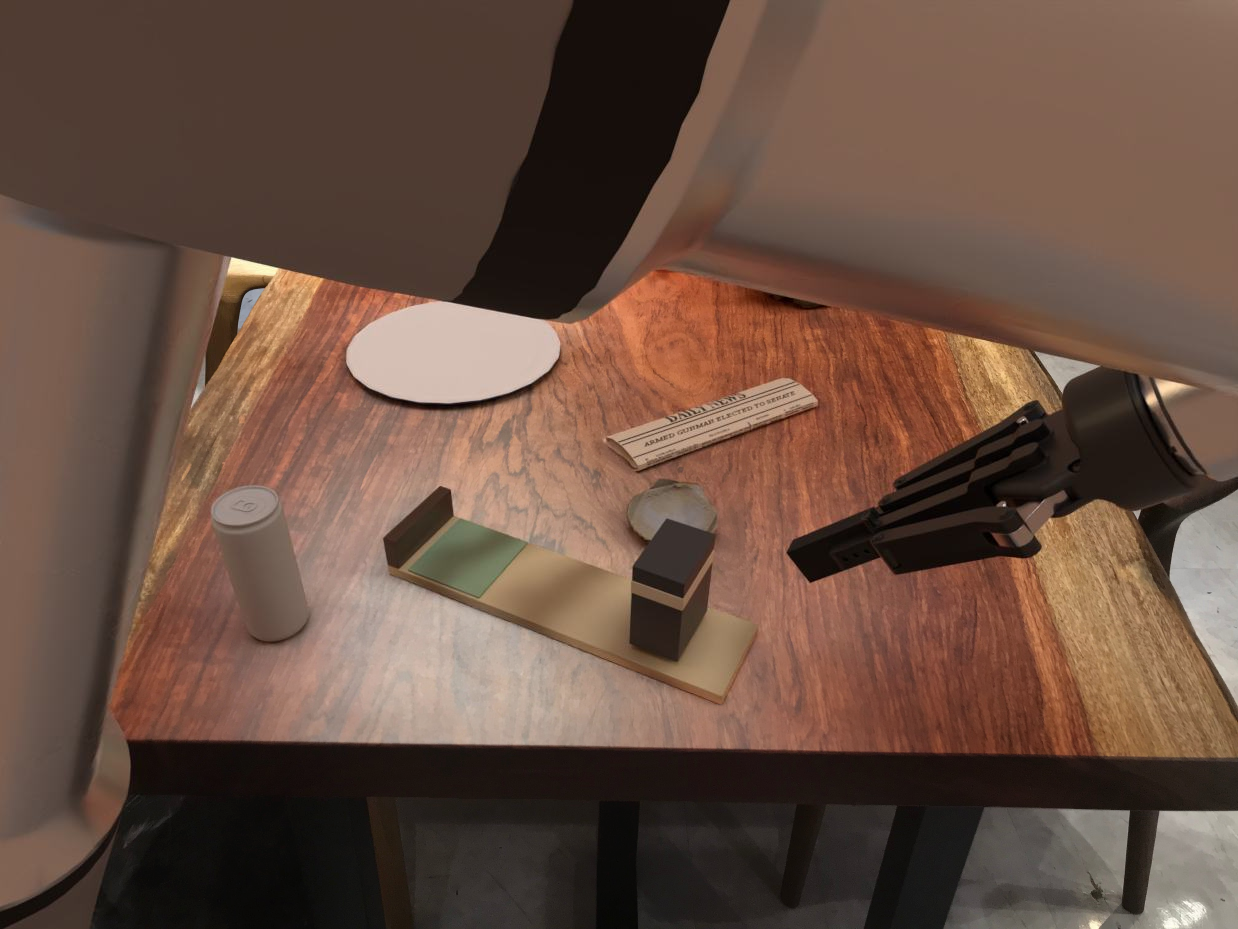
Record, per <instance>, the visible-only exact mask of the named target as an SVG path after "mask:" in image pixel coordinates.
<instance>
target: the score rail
mask: <svg viewBox="0 0 1238 929" xmlns="http://www.w3.org/2000/svg"><path fill="white" fill-rule="evenodd" d="M453 504H454V503H453V495H452V489H451V488H448V487H445V486H442V485H439V486H438V487H437V488H436V489H434V491H432V492H431V493H430V494H429V495H428V496H427V497H426V498H425V499H423V501H422V502H420V503H419V504H418V505H417V506H416V507H415V508H414V509H413V510H412V511H411V512H409V514H407V515H406V516H405V517H404V518H403V519H402V520H401V521H399V523H398V524H397V525H395V526H394V527H393V528H392V529H391V530H390V531H389V532H388V533H386V534H385V535H384V536H383V537H382V542H383V547H384V553H385V558H386V564H387V570H388V573H389V574H390V575H392V576H394V577H397V578H399V579H402V580H404V581H406V582H410V583H412V584H415V585H417V586H420V587H422V588H425V589H427V590H430V591H433V592H435V593H437V594H439V595H442V596H445V597H447V598H450V599H453V600H456V601H458V602H460V603H463V604H465V605H468V606H470V607H473V608H475V609H478V610H480V611H483V612H485V613H488V614H490V615H493V616H496V617H498V618H501V619H503V620H505V621H508V622H511V623H512V624H513V623H514V624H515V625H518V626H520V627H523V628H526V629H528V630H531V631H533V632H536V633H539V634H541V635H543V636H545V637H548V638H551V639H554V640H556V641H559V642H562V643H564V644H566V645H568V646H572V647H574V648H576V649H578V650H582V651H584V652H586V653H589V654H592V655H593V656H597V657H599V658H602V659H605V660H606V661H609V662H612V663H615V664H617V665H619V666H622V667H625V668H627V669H630V670H632V671H635V672H638V673H640V674H643V675H645V676H647V677H650V678H652V679H654V680H657V681H659V682H662V683H665V684H667V685H670V686H672V687H675V688H677V689H680V690H683V691H686V692H687V693H691V694H692V695H695V696H698V697H701V698H704V699H706V700H708V701H710V702H713V703H716V704H718V705H722V704H723V702H724V700H725V699H726V696H727V694H728V692H729V690H730V688H731V686H732V684H733V682H734V680H735V678H736V677H737V674H738V672H739V670H740V669H741V666H742V665H743V662H744V660H745V658H746V657H747V654H748V652H749V650H750V648H751V646H752V644H753V642H754V640H755V638H756V636H757V634H758V629H759V624H758V623H755V622H752V621H749V620H747V619H744V618H741V617H738V616H736V615H732V614H731V613H727V612H724V611H722V610H718V609H716V608H713V607H711V606H708V607H707V612H706V613H705V615H704V617H703V619H702V620H701V622H700V624H699V626H698V627H697V629H696V631H695V633H694V634H693V636H692V638H691V639H690V641H689V643H688V645H687V646H686V648H685V650H684V652H683V653H682V655H681V657H680V658H679V660H678V662H676V661H673V660H670V659H668V658H665V657H663V656H660V655H657V654H655V653H652V652H650V651H647V650H644V649H642V648H639V647H637V646H634V645H631V644H629V638H630V615H631V580H632V578H629V577H626V576H624V575H620V574H618V573H615V572H612V571H609V570H607V569H604V568H601V567H599V566H595V565H593V564H591V563H590V564H589V563H588V562H584V561H581V560H579V559H575V558H573V557H570V556H568V555H564V554H562V553H559V552H556V551H553V550H550V549H548V548H545V547H542V546H539V545H536V544H534V543H531V542H528V541H527V540H523V539H520V538H519V537H514V536H512V535H510V534H507V533H503V532H501V531H498V530H496V529H495V530H494V529H492V528H490V527H487V526H484V525H482V524H478V523H476V522H473V521H470V520H468V519H464V518H461V517H458V516H455V514H454V505H453Z"/></svg>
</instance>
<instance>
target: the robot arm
mask: <svg viewBox="0 0 1238 929" xmlns="http://www.w3.org/2000/svg"><path fill="white" fill-rule="evenodd" d="M232 258H233V259H237V260H240V261H245V262H250V263H253V264H259V265H263V266H267V267H272V268H276V269H281V270H284V271H288V272H292V273H293V272H294V273H297V274H302V275H307V276H311V277H315V278H318V279H319V278H320V279H324V280H329V281H332V282H337V283H342V284H346V285H349V286H350V285H351V286H353V287H359V288H365V289H371V290H376V291H381V292H388V293H394V294H400V295H404V296H405V295H406V296H410V297H417V298H422V299H428V300H433V301H443V302H450V303H455V304H460V305H465V306H471V307H476V308H481V309H486V310H492V311H497V312H502V313H507V314H513V315H518V316H523V317H528V318H534V319H540V320H545V321H546V322H547V321H548V322H554V323H560V324H566V325H567V324H568V325H571V324H574V323H578V322H582V321H584V320H585V321H586V320H588V319H589V318H590V317H592V316H593V315H595V314H596V313H597V312H599V311H601V309H603V308H604V307H605V306H607V305H608V304H610V303H611V302H612V301H614V300H615V299H617V298H618V297H619V296H620V295H622V294H623V293H625V292H626V291H628V290H629V289H630V288H632V287H633V286H635V285H636V284H638V283H639V282H640V281H641V280H643V279H645V278H646V277H647V276H648V275H650V274H651V273H653V272H654V271H660V270H664V271H669V272H674V273H677V274H682V275H686V276H691V277H696V278H701V279H706V280H709V281H714V282H719V283H723V284H728V285H732V286H737V287H741V288H744V289H745V288H747V289H751V290H754V291H759V292H763V293H765V292H768V293H772V294H777V295H781V296H785V298H786V297H787V298H791V299H792V298H795V299H800V300H804V301H809V302H813V303H818V304H819V305H822V306H827V307H832V308H835V309H836V308H837V309H839V310H840V309H841V310H844V311H850V312H853V313H854V312H855V313H860V314H863V315H868V316H873V317H877V318H881V319H885V320H890V321H895V322H900V323H904V324H909V325H913V326H917V327H923V328H926V329H930V330H931V329H932V330H934V331H935V330H937V331H941V332H945V333H949V334H954V335H959V336H962V337H966V338H967V337H968V338H972V339H977V340H981V341H986V342H991V343H995V344H999V345H1003V346H1008V347H1013V348H1017V349H1022V350H1026V351H1031V352H1036V353H1039V354H1044V355H1048V356H1049V355H1050V356H1054V357H1057V358H1061V359H1067V360H1072V361H1075V362H1081V363H1084V364H1085V363H1086V364H1088V365H1089V364H1090V365H1094V366H1098V367H1095V368H1092V369H1091V370H1088V371H1087V372H1085V373H1082V374H1080V375H1077V376H1075V377H1073V378H1071V379H1070V380H1069V381H1068V382H1067V383H1066V384H1065V386H1064V387H1063V390H1062V394H1061V409H1059V410H1056V411H1054V412H1052V413H1048V412H1047V411H1046V410H1045V407H1044V406H1043V405H1042V404H1041V402H1040V400H1039V399H1034V400H1031V401H1028V402H1026V403H1025V404H1024V405H1022V406H1020V407H1019V408H1018V409H1017V410H1015V411H1014V412H1013V413H1011V414H1009V415H1008V416H1007V417H1005V418H1004V419H1003V420H1001V421H1000V422H998V423H996V424H994V425H992V426H990V427H988V428H987V429H985V430H983V431H981V432H980V433H978V434H976V435H974V436H972V437H970V438H968V439H967V440H965V441H963V442H960V443H959V444H958V445H956V446H954V447H952V448H951V449H948V450H946V451H945V452H943V453H941V454H939V455H937V456H936V457H934V458H932V459H930V460H929V461H926V462H924V463H923V464H921V465H919V466H917V467H916V468H913V469H911V470H909V471H908V472H906V473H904V474H903V475H901V476H899V477H897V478H896V479H895V480H894V481H893V483H892V486H893V488H894V490H895V491H893V492H891V493H887V494H885V495H883V497H882V498H880V499H879V501H878V502H877V506H872V507H869V508H867V509H864V510H861V511H859V512H857V513H854V514H851V515H850V516H847V517H844V518H842V519H840V520H838V521H835V522H833V523H830V524H828V525H825V526H823V527H820V528H818V529H816V530H813V531H811V532H809V533H808V532H807V533H806V534H804V535H800V536H799V537H796V538H794V539H792V540H791V543H790V544H789V546H788V548H787V550H786V552H785V554H786V555H787V556H788V557H789V559H790V560H791V561H792V562H793V564H794V565H795V566H796V568H797V570H799V571H800V573H801V574H802V575H803V577H804V578H805V579H806V580H807V582H808V583H809V584H812V583H815V582H818V581H820V580H823V579H825V578H828V577H831V576H833V575H834V576H835V575H836V574H839V573H842V572H844V571H847V570H850V569H853V568H855V567H858V566H862V565H864V564H867V563H870V562H872V561H875V560H877V559H880V558H881V560H882V561H883V562H884V564H885V565H886V566H887V568H888V569H889V570H890V572H891V573H892V574H893V575H895V576H897V575H899V576H900V575H904V574H910V573H915V572H921V571H922V572H923V571H927V570H932V569H937V568H942V567H948V566H949V567H950V566H954V565H960V564H965V563H966V564H967V563H970V562H976V561H981V560H987V559H992V558H998V557H1005V558H1011V559H1013V558H1014V559H1024V560H1025V559H1030V558H1033V557H1034V556H1036V555H1038V554H1039V553H1040V552H1041V550H1042V549H1043V545H1042V543H1041V542H1040V540H1039V538H1037V537H1036V533H1037V532H1038V531H1039V530H1040V529H1041V528H1042V527H1043V526H1044V525H1045V524H1046V523H1047V522H1048V521H1049V520H1050V519H1059V518H1065V517H1067V516H1069V515H1071V514H1073V513H1075V512H1076V511H1078V510H1079V509H1081V508H1082V507H1084V506H1086V505H1088V504H1090V503H1092V502H1094V501H1096V500H1100V501H1106V502H1108V503H1111V504H1112V505H1115V507H1117V508H1119V509H1121V510H1124V511H1127V512H1138V511H1142V510H1144V509H1146V508H1147V509H1148V508H1150V507H1154V506H1157V505H1160V504H1162V503H1165V502H1168V501H1172V500H1175V499H1177V498H1181V497H1183V496H1187V495H1190V494H1193V493H1195V492H1196V493H1197V492H1198V491H1199V490H1200V488H1201V486H1202V485H1203V484H1204V482H1205V476H1206V477H1207V478H1209V479H1211V480H1214V481H1217V482H1220V483H1221V482H1223V483H1224V482H1226V481H1229V480H1232V479H1235V478H1237V477H1238V0H0V929H90V927H91V924H92V919H93V915H94V912H95V908H96V903H97V901H98V896H99V892H100V890H101V885H102V882H103V879H104V875H105V872H106V868H107V865H108V862H109V858H110V855H111V851H112V848H113V845H114V843H115V838H116V835H117V832H118V829H119V826H120V821H121V818H122V815H123V811H124V807H125V805H126V801H127V798H128V794H129V790H130V783H131V766H132V764H131V756H130V748H129V744H128V742H127V739H126V736H125V733H124V731H123V730H122V727H121V726H120V723H119V722H118V720H117V719H116V718H115V716H114V715H113V713H112V712H111V711H110V707H111V705H112V704H111V703H112V700H113V696H114V693H115V689H116V685H117V681H118V678H119V674H120V671H121V667H122V663H123V659H124V656H125V652H126V648H127V645H128V641H129V637H130V634H131V630H132V627H133V622H134V619H135V616H136V611H137V608H138V604H139V601H140V597H141V594H142V589H143V585H144V582H145V578H146V574H147V572H148V567H149V564H150V560H151V556H152V554H153V548H154V545H155V541H156V539H157V538H156V537H157V534H158V530H159V527H160V523H161V520H162V516H163V512H164V508H165V504H166V502H167V497H168V494H169V490H170V486H171V483H172V479H173V474H174V471H175V468H176V464H177V460H178V456H179V452H180V450H181V445H182V442H183V439H184V434H185V431H186V427H187V425H188V424H187V423H188V419H189V416H190V412H191V408H192V405H193V401H194V398H195V394H196V390H197V386H198V382H199V379H200V375H201V372H202V367H203V364H204V360H205V357H206V353H207V350H208V346H209V342H210V339H211V334H212V332H213V331H212V330H213V327H214V324H215V320H216V316H217V313H218V309H219V305H220V302H221V299H222V294H223V290H224V287H225V283H226V278H227V276H228V271H229V268H230V264H231V261H232Z"/></svg>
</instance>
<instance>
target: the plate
mask: <svg viewBox="0 0 1238 929" xmlns="http://www.w3.org/2000/svg"><path fill="white" fill-rule="evenodd" d="M561 346H562V343H561V341H560V337H559V335H558V333H557V331H556V330H555V329H554V327H553V326H551V325H550V324H549V322H547V321H546V320H540V319H534V318H528V317H523V316H518V315H513V314H507V313H502V312H497V311H492V310H486V309H481V308H476V307H471V306H465V305H460V304H455V303H450V302H443V301H439V300H436V301H430V302H426V303H420V304H416V305H411V306H407V307H404V308H401V309H397V310H395V311H392V312H390V313H386V314H385V315H383V316H381V317H379V318H377V319H375V320H373V321H371V322H370V323H368V324H367V325H365V326H364V327H363V328H362V329H361V330H360V331H358V332H357V333H356V334H355V335H354V336H353V337H352V340H351V341H350V343H349V345H348V347H347V348H346V351H345V352H346V355H345V357H346V358H345V360H346V361H345V363H346V367H347V368H348V370H349V372H350V374H351V375H352V377H353V379H355V381H357V382H358V383H360V384H361V385H362V386H364V387H366V388H367V389H368V390H369V391H371V392H374V393H376V394H377V393H378V394H380V395H382V396H384V397H387V398H390V399H393V400H397V401H404V402H408V403H414V404H420V405H439V406H441V405H443V406H452V405H462V404H471V403H482V402H485V401H488V400H493V399H496V398H497V399H498V398H501V397H505V396H509V395H511V394H513V393H516V392H517V391H520V390H522V389H524V388H527V387H529V386H531V385H533V384H534V383H536V382H537V381H539V380H540V379H541V378H543V377H544V376H545V375H547V374H548V373H550V371H551V370H552V368H553V367H554V365H555V364H556V363H557V361H558V360H559V357H560V351H561Z"/></svg>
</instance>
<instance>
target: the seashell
mask: <svg viewBox="0 0 1238 929" xmlns="http://www.w3.org/2000/svg"><path fill="white" fill-rule="evenodd" d="M626 517H627V518H626V519H627V521H628V523H629V525H630V527H631V528H632V529H633V531H634V532H635V533H637V535H638V537H640V538H643V540H644V541H646V542H650V541H651V539H652V538H653V537H654V535H655V534H656V532H657V531H658V530H659V528H660V527H661V525H662V524H663V523H664V521H665V520H666V519H667V518H668V519H671V520H674V521H677V522H680V523H683V524H686V525H689V526H692V527H695V528H698V529H701V530H704V531H707V532H711V533H714V534H715V531H716V530H717V529H718V525H719V517H718V512H717V510H716V509H715V507H714V505H713V504H712V503H711V502H710V501H709V499H708V496H707V495H706V493H705V491H704V488H703V487H702V485H701V484H700V483H696V482H689V481H677V480H675V479H669V478H661V477H658V478H657V479H656V481H655V482H654V483H653V486H652V487H649V488H648V489H646V490H644V491H641V492H640V493H638V494H636V495H634V496H633V498H632V499H630V500H629V502H628V504H627V508H626Z"/></svg>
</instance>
